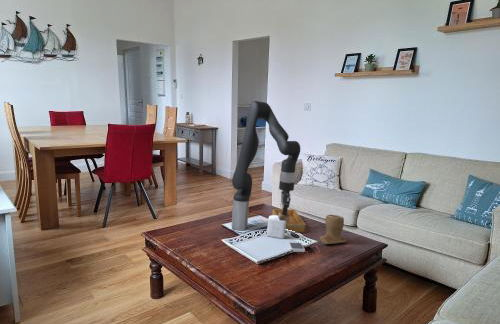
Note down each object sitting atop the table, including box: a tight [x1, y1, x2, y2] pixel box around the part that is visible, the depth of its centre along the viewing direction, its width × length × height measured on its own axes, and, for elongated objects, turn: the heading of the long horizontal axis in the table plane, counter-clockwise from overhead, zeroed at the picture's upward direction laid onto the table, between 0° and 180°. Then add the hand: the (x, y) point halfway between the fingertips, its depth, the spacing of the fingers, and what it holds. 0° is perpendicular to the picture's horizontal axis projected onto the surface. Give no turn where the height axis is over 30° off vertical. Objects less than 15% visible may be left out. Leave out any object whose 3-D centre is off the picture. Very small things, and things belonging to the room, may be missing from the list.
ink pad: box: [287, 242, 306, 253], centre depth 180 cm, size 7×8×2 cm
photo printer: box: [266, 214, 286, 240], centre depth 194 cm, size 10×4×12 cm, turn 72°
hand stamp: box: [278, 203, 290, 221], centre depth 176 cm, size 5×5×8 cm
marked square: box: [304, 245, 322, 253], centre depth 181 cm, size 8×8×1 cm
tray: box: [271, 208, 307, 233], centre depth 217 cm, size 31×15×6 cm, turn 5°
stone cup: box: [319, 214, 347, 245], centre depth 192 cm, size 15×12×15 cm
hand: (284, 213), depth 176 cm, fingers closed on hand stamp, 3 cm apart
